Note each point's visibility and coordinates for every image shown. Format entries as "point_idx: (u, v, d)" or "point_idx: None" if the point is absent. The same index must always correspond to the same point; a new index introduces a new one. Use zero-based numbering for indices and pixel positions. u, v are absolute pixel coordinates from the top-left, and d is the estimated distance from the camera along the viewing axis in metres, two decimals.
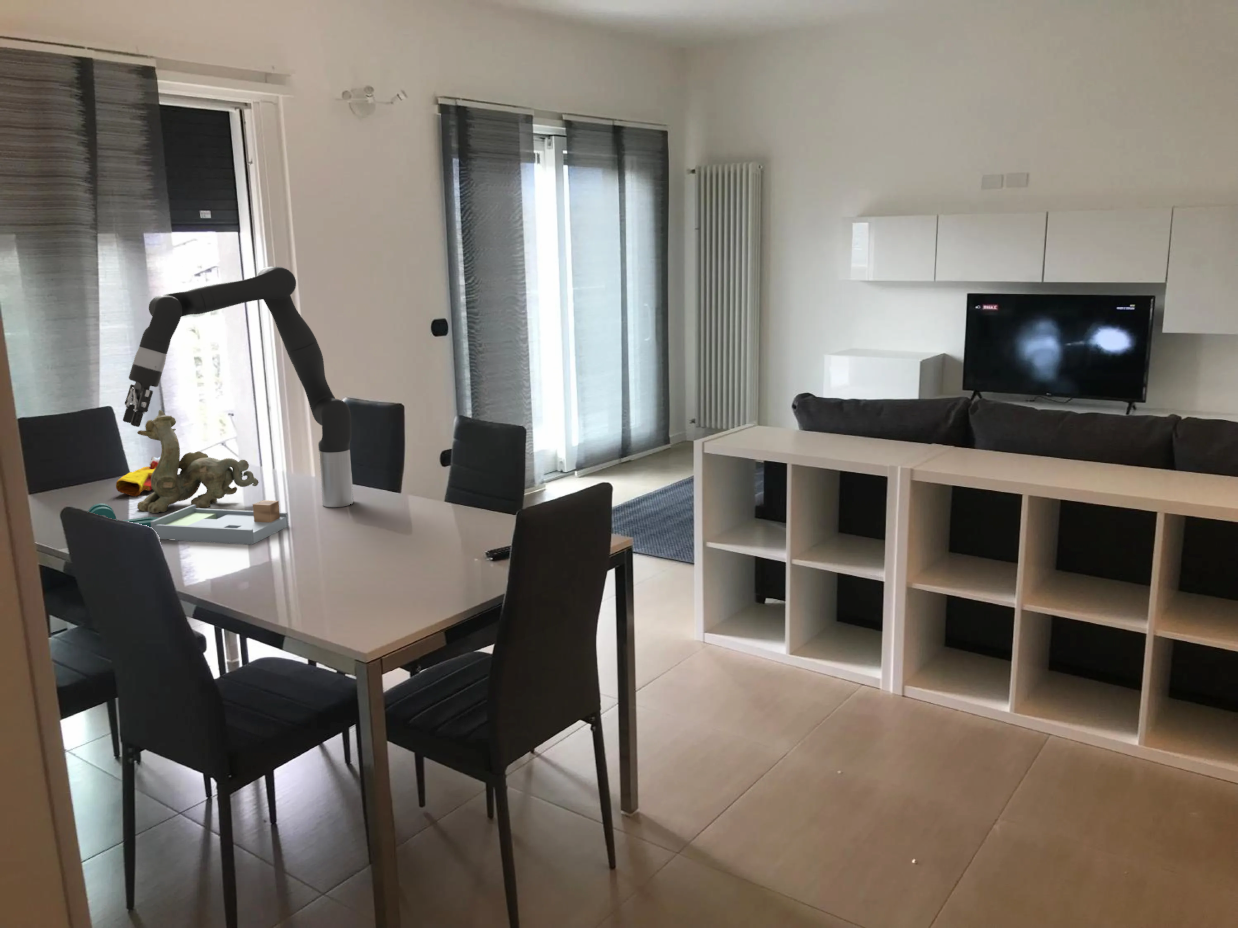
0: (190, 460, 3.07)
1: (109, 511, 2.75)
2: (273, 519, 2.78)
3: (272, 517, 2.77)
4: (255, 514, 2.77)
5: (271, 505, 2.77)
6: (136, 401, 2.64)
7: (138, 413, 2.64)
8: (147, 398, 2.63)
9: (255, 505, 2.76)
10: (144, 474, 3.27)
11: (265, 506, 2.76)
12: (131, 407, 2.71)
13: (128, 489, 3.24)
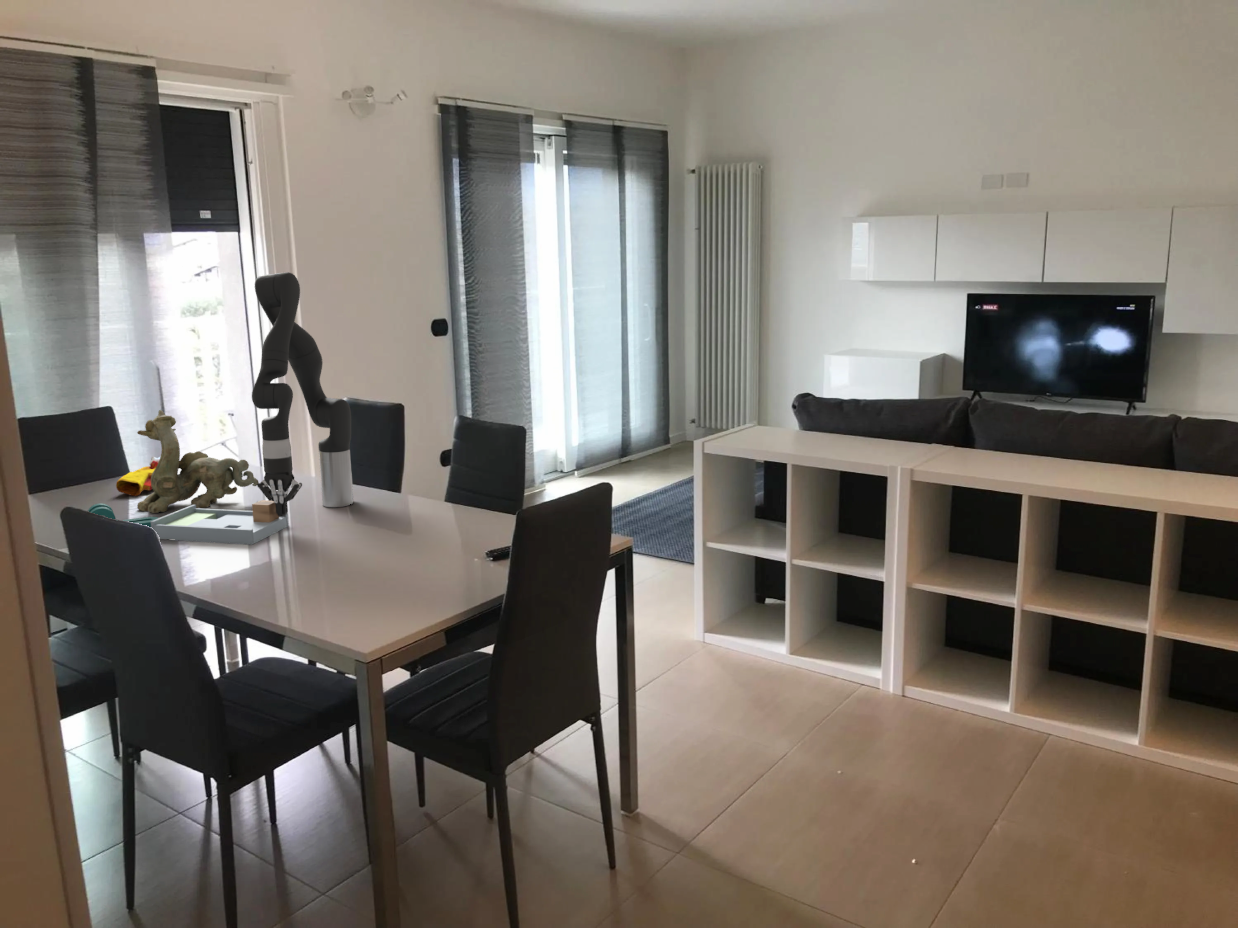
0: (190, 460, 3.07)
1: (108, 511, 2.75)
2: (272, 519, 2.78)
3: (271, 517, 2.77)
4: (254, 514, 2.77)
5: (270, 505, 2.77)
6: (283, 494, 2.75)
7: (285, 503, 2.77)
8: (297, 491, 2.76)
9: (254, 505, 2.76)
10: (145, 474, 3.27)
11: (264, 506, 2.76)
12: None
13: (128, 489, 3.24)
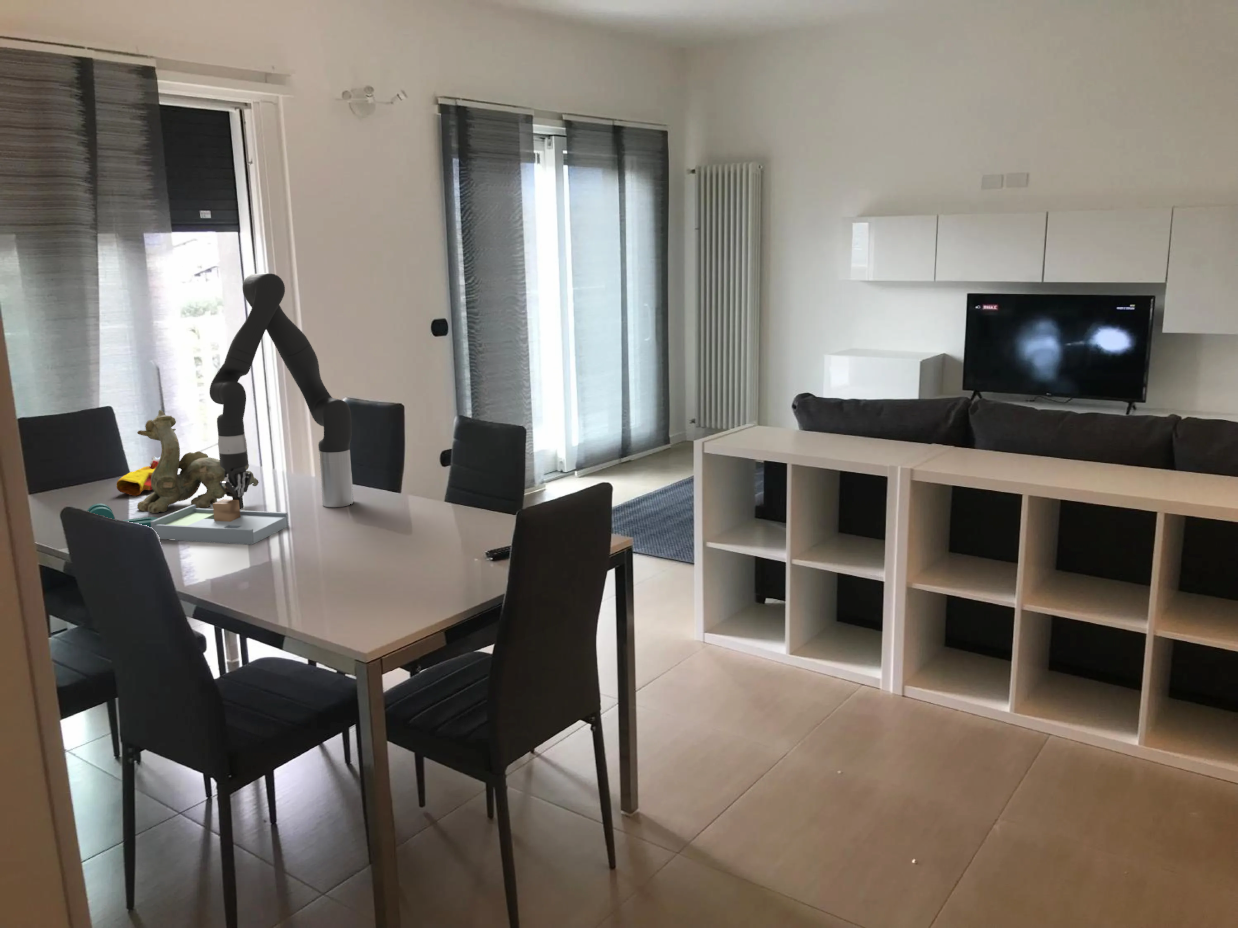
0: (190, 460, 3.07)
1: (107, 511, 2.75)
2: (233, 518, 2.79)
3: (232, 516, 2.79)
4: (215, 513, 2.78)
5: (231, 504, 2.78)
6: None
7: (233, 498, 2.83)
8: (227, 489, 2.79)
9: (215, 504, 2.77)
10: (145, 474, 3.27)
11: (225, 505, 2.77)
12: None
13: (129, 489, 3.24)
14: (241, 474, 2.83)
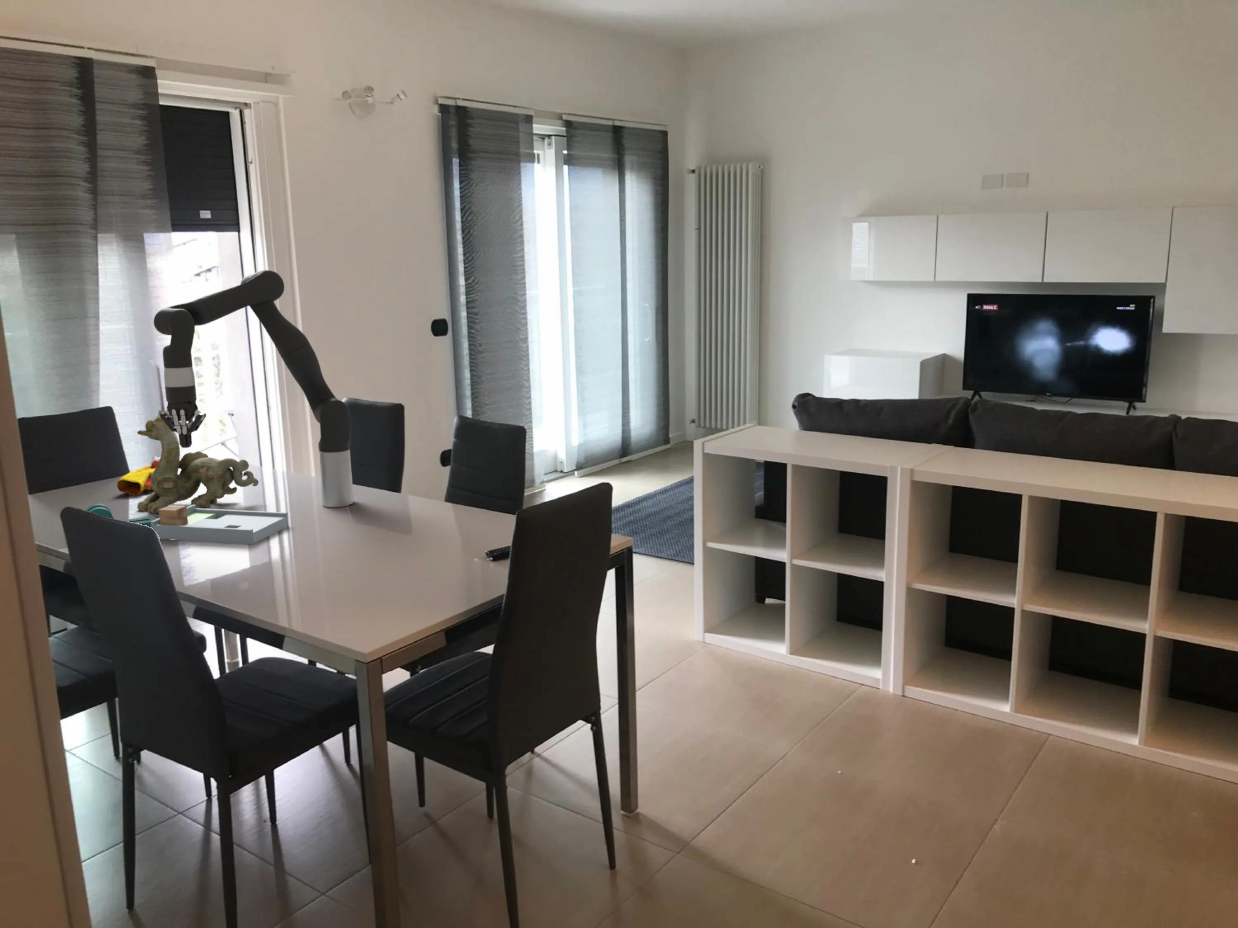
0: (190, 460, 3.07)
1: (106, 511, 2.75)
2: (180, 524, 2.73)
3: (179, 522, 2.72)
4: (161, 519, 2.72)
5: (178, 510, 2.71)
6: (186, 424, 2.67)
7: (189, 434, 2.68)
8: (200, 421, 2.67)
9: (161, 510, 2.71)
10: (146, 473, 3.28)
11: (171, 511, 2.71)
12: None
13: (129, 488, 3.25)
14: None
